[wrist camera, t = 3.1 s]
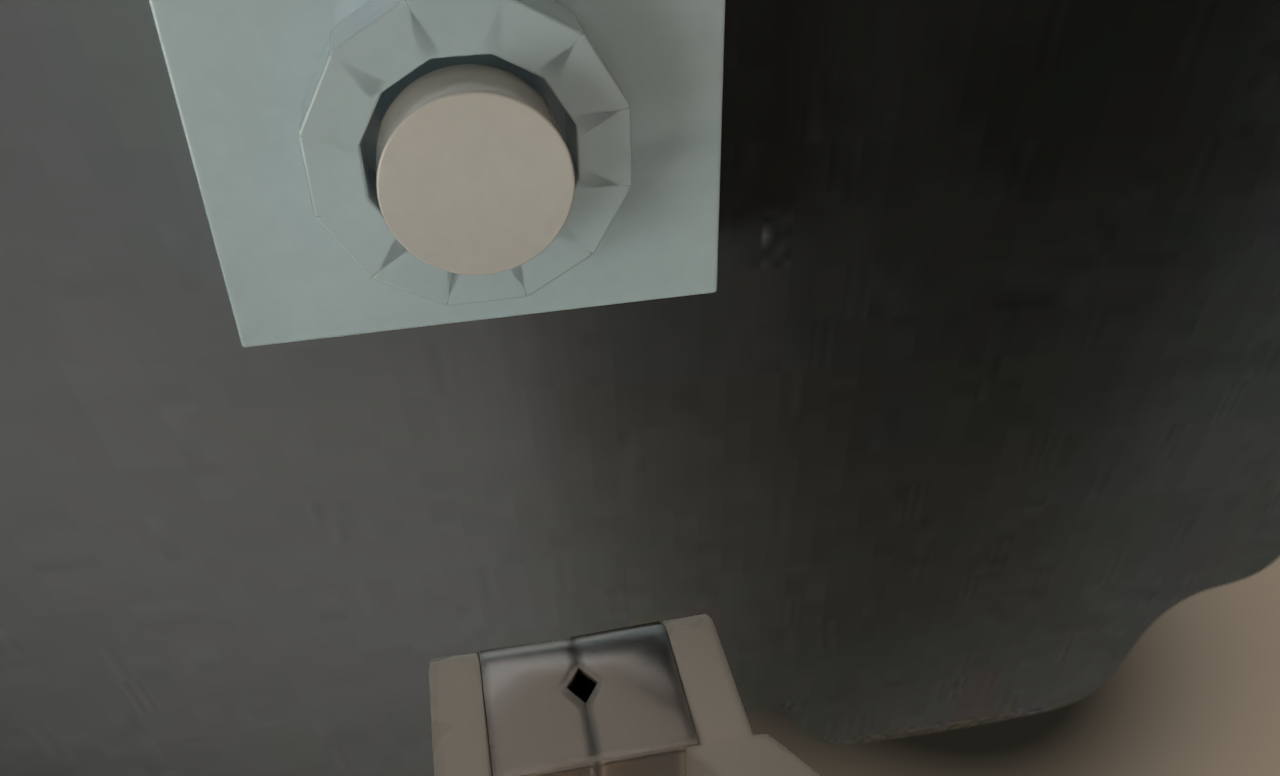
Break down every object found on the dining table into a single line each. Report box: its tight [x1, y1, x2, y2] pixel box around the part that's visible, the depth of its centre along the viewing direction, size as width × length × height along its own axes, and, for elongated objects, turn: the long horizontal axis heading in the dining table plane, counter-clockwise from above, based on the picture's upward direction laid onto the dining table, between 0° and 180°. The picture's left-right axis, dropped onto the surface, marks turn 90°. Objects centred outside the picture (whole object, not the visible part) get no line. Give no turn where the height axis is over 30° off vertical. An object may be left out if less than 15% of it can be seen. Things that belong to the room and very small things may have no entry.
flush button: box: [376, 64, 575, 275], centre depth 23 cm, size 4×4×2 cm
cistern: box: [148, 0, 725, 347], centre depth 25 cm, size 12×10×5 cm
